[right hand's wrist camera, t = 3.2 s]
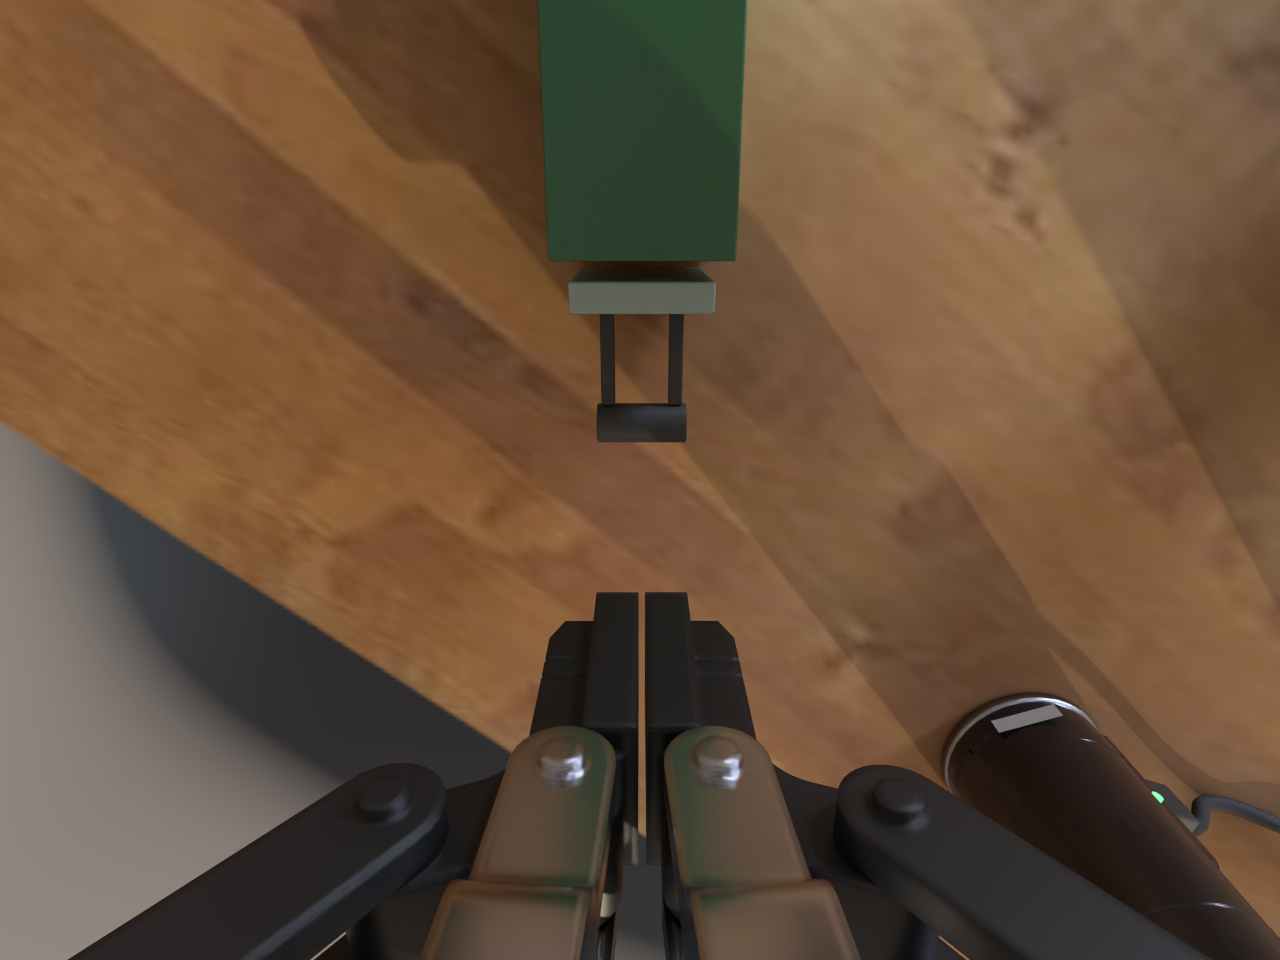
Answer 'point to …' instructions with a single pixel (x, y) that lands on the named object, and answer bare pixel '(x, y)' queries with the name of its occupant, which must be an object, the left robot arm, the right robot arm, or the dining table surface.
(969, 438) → the dining table surface
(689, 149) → the cabinet
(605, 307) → the drawer
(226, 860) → the right robot arm
